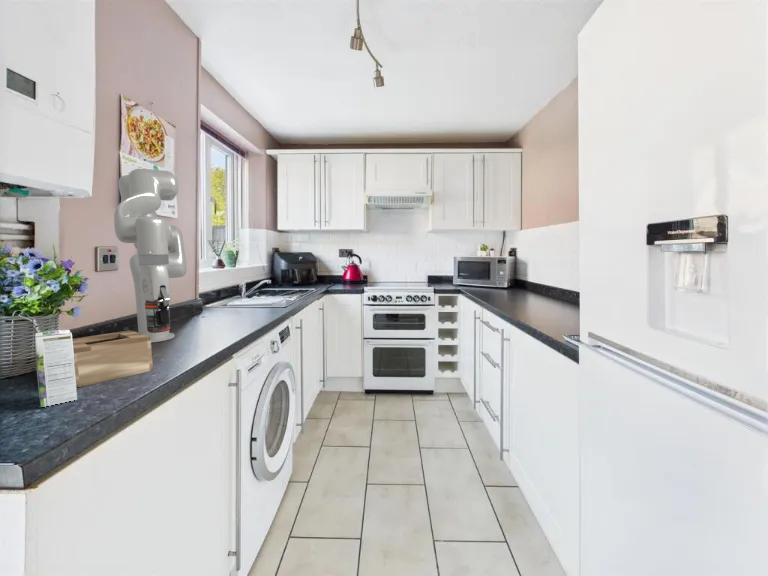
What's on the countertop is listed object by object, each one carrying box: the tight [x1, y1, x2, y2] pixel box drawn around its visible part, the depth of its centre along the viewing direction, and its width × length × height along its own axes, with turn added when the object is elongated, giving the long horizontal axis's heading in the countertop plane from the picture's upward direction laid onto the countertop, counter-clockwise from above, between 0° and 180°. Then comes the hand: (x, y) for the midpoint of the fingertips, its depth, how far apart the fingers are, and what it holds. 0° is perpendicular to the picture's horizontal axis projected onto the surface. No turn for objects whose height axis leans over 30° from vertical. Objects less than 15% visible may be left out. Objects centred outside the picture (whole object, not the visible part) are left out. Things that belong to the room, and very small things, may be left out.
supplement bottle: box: [145, 298, 172, 333], centre depth 109 cm, size 6×6×11 cm
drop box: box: [72, 329, 154, 389], centre depth 95 cm, size 15×16×9 cm
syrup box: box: [34, 329, 78, 408], centre depth 77 cm, size 6×6×14 cm
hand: (158, 322), depth 109 cm, fingers closed on supplement bottle, 6 cm apart
